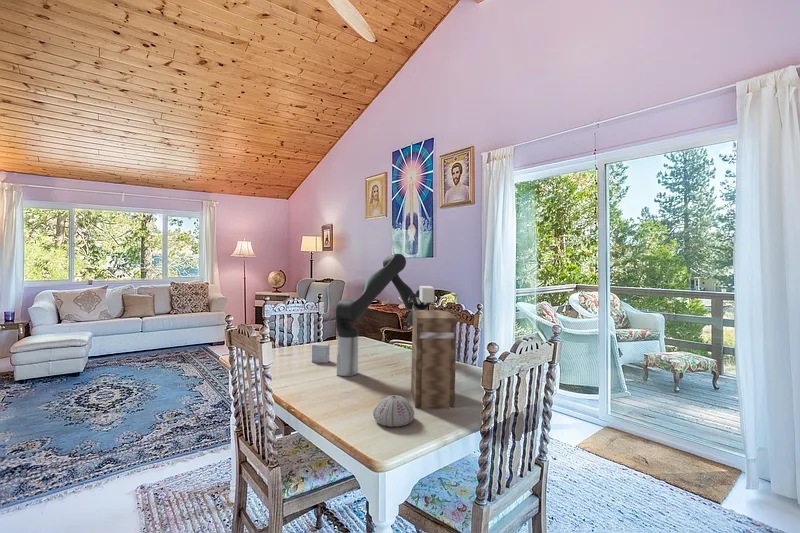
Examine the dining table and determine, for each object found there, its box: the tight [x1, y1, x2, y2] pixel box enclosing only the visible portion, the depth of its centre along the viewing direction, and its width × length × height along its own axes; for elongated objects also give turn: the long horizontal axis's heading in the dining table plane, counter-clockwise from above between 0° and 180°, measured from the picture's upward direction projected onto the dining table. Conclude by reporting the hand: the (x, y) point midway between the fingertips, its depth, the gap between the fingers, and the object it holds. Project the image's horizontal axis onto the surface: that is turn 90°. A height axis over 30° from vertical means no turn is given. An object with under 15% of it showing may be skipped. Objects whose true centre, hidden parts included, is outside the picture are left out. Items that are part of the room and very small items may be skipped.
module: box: [418, 285, 435, 304], centre depth 175 cm, size 5×21×6 cm, turn 3°
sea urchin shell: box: [372, 394, 415, 428], centre depth 128 cm, size 13×14×8 cm
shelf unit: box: [410, 309, 458, 410], centre depth 148 cm, size 14×21×32 cm
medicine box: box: [311, 342, 331, 364], centre depth 197 cm, size 8×4×9 cm, turn 84°
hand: (424, 291), depth 180 cm, fingers closed on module, 4 cm apart
